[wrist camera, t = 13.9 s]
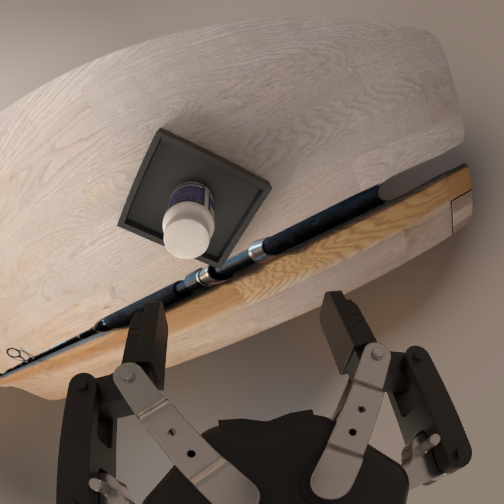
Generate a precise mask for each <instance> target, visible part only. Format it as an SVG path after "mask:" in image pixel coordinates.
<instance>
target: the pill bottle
mask: <svg viewBox="0 0 504 504" xmlns="http://www.w3.org/2000/svg"><path fill="white" fill-rule="evenodd" d="M214 226H215V222H214V200H213V196H212V193H211V192H210V190H209V189H208V188H207V187H206V186H204V185H203V184H201V183H198V182H185V183H183V184H180V185H179V186H177V187H176V188H175V189H174V191H173V192H172V194H171V196H170V199H169V202H168V205H167V208H166V211H165V215H164V218H163V224H162V227H163V232H164V237H163V240H164V244H165V247H166V248H167V250H168V251H169V252H170V253H171V254H172V255H174V256H176V257H178V258H182V259H193V258H196V257H198V256H200V255H202V254H203V253H204V252H205V251H206V250H207V248H208V246H209V242H210V239H211V237H212V235H213V232H214Z"/></svg>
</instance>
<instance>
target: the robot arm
mask: <svg viewBox="0 0 504 504" xmlns="http://www.w3.org/2000/svg"><path fill="white" fill-rule="evenodd" d="M320 323H321V326H322V329H323V331H324V334H325V336H326V339H327V342H328V344H329V347H330V349H331V352H332V354H333V357H334V360H335V362H336V365H337V367H338V370H339V373H340V375H343V374H348V375H349V380H348V382H347V384H346V387H345V389H344V392H343V394H342V396H341V399H340V401H339V403H338V406H337V408H336V410H335V412H334V414H333V416H332V418H331V419H329V418H327V417H323V416H318V415H314V414H313V410H306V411H300V412H295V413H289V414H287V415H284V416H281V417H279V418H276V419H273V420H271V421H257V420H249V419H231V420H230V419H229V420H219V426H216V427H213V428H211V429H209V430H207V431H205V432H203V433H202V434H201V435H200V434H199V433H198V432H197V431H196V430H195V429H194V428H193V427H192V426H191V424H190V423H189V422H188V421H187V420H186V419H185V418H184V417H183V416H182V414H181V413H180V412H179V411H178V410H177V409H176V408H175V406H174V405H173V404H172V403H171V402H170V401H169V400H168V399H165V398H164V397H163V396H162V394H161V393H160V392H159V390H164V376H165V362H166V350H167V339H168V325H167V320H166V316H165V311H164V307H163V303H162V301H147V302H146V305H145V309H144V312H137V313H136V314H135V315H134V317H133V318H132V319H131V322H130V326H129V331H128V337H127V340H126V345H125V350H124V355H123V360H122V364H121V365H120V366H118V367H117V368H116V369H115V371H114V373H112V374H110V375H107V376H103V377H99V378H94V377H93V376H92V375H91V374H88V373H80V374H77V375H75V376H74V377H73V378H72V379H71V381H70V383H69V387H68V392H67V397H66V403H65V409H64V415H63V422H62V429H61V437H60V446H59V456H58V469H57V492H56V495H57V496H56V503H57V504H135V503H134V502H133V500H132V499H131V496H130V492H129V489H128V488H127V486H126V485H125V484H124V483H122V482H121V481H119V480H118V479H116V433H117V418H121V417H124V416H129V415H133V414H135V415H136V416H137V417H138V419H139V420H140V421H141V423H142V424H143V426H144V427H145V428H146V430H147V431H148V432H149V434H150V435H151V436H152V437H153V439H154V440H155V441H156V442H157V444H158V445H159V446H160V448H161V449H162V450H163V451H164V453H165V454H166V455H167V456H168V457H169V458H170V460H171V461H172V462H173V463H174V464H175V465H174V466H173V467H172V468H171V469H170V471H169V472H168V473H167V474H166V475H165V477H164V478H163V479H162V480H161V481H160V482H159V484H158V485H157V486H156V487H155V488H154V489H153V490H152V492H151V493H150V494H149V495H148V496H147V497H146V499H145V500H144V501H143V503H142V504H406V501H407V495H408V491H409V490H410V489H413V488H415V487H417V486H420V485H430V484H432V483H434V482H436V481H438V480H440V479H442V478H444V477H446V476H448V475H450V474H451V473H453V472H455V471H457V470H459V469H460V468H462V467H464V466H465V465H467V464H468V463H469V461H470V459H471V456H472V449H471V446H470V444H469V441H468V438H467V436H466V433H465V431H464V428H463V426H462V423H461V421H460V419H459V416H458V414H457V412H456V409H455V407H454V405H453V403H452V401H451V398H450V396H449V394H448V392H447V390H446V388H445V385H444V383H443V381H442V379H441V377H440V375H439V373H438V372H437V369H436V367H435V365H434V363H433V361H432V359H431V357H430V356H429V354H428V352H427V351H426V350H425V349H424V348H422V347H419V346H411V347H409V348H408V349H407V351H406V352H405V353H402V352H391V351H389V349H388V348H387V347H386V346H385V345H383V344H381V343H378V342H377V341H376V339H375V337H374V335H373V333H372V331H371V329H370V327H369V326H368V324H367V322H366V321H365V318H364V316H363V315H362V313H361V311H360V309H359V307H358V306H357V305H356V304H355V303H354V302H352V300H346V299H345V297H344V295H343V293H342V291H329V292H326V293H325V295H324V299H323V303H322V308H321V311H320ZM384 392H387V394H388V396H389V399H390V401H391V405H392V407H393V410H394V412H395V415H396V418H397V421H398V424H399V427H400V430H401V433H402V436H403V439H404V442H405V447H404V448H403V450H402V454H401V456H402V459H401V461H402V465H400V464H399V463H397V462H395V461H394V460H392V459H391V458H389V457H388V456H386V455H384V454H383V453H381V452H380V451H378V450H376V449H375V448H374V447H372V446H370V445H369V444H368V442H369V439H370V436H371V434H372V431H373V428H374V425H375V422H376V419H377V416H378V413H379V410H380V407H381V403H382V400H383V396H384Z"/></svg>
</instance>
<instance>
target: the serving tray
mask: <svg viewBox="0 0 504 504" xmlns="http://www.w3.org/2000/svg"><path fill="white" fill-rule="evenodd" d="M185 182H198V183H201V184H203V185H204V186H206V187H207V188H208V189H209V190H210V192H211V193H212V196H213V200H214V222H215V226H214V232H213V235H212V237H211V239H210V242H209V246H208V248H207V250H206V251H205V252H204V253H203V254H202V255H200V256H198V257H196V258H194V259H197V260H199V261H201V262H204V263H206V264H209V265H211V266H214V267H216V268H219V269H221V267H222V266H223V264H224V263H225V261H226V259H227V258H228V256H229V255H230V253H231V252H232V250H233V248H234V247H235V245H236V244H237V242H238V240H239V239H240V237H241V236H242V234H243V233H244V231H245V229H246V228H247V226H248V225H249V223H250V222H251V220H252V219H253V217H254V215H255V214H256V212H257V211H258V209H259V208H260V206H261V204H262V203H263V201H264V200H265V198H266V197H267V195H268V194H269V192H270V191H271V189H272V187H271V185H270V183H269V182H267V181H265V180H263V179H262V178H260V177H258V176H256V175H254V174H252V173H250V172H248V171H247V170H245V169H243V168H241V167H239V166H237V165H235V164H233V163H231V162H229V161H227V160H225V159H223V158H221V157H219V156H217V155H215V154H213V153H211V152H209V151H207V150H205V149H203V148H201V147H199V146H197V145H195V144H193V143H191V142H189V141H187V140H185V139H182V138H180V137H178V136H176V135H174V134H172V133H170V132H167V131H165V130H163V129H161V128H160V129H159V130H158V131H157V132H156V134H155V136H154V138H153V140H152V142H151V144H150V147H149V149H148V151H147V153H146V155H145V157H144V160H143V162H142V164H141V166H140V169H139V171H138V173H137V176H136V178H135V180H134V183H133V185H132V188H131V190H130V193H129V195H128V198H127V200H126V203H125V206H124V208H123V211H122V214H121V216H120V219H119V222H118V225H117V226H119V227H121V228H123V229H126V230H128V231H130V232H133V233H135V234H137V235H140V236H142V237H144V238H147V239H149V240H151V241H154V242H156V243H158V244H161V245H163V246H165V244H164V240H163V237H164V232H163V227H162V224H163V218H164V215H165V211H166V208H167V205H168V202H169V199H170V196H171V194H172V192H173V191H174V189H175V188H176V187H177V186H179V185H180V184H183V183H185Z"/></svg>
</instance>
